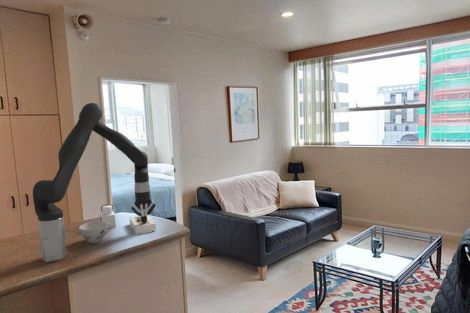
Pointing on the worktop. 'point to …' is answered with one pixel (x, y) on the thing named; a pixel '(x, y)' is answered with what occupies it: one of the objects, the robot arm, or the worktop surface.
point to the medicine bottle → (108, 215)
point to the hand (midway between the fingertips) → (144, 222)
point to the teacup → (94, 231)
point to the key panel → (142, 228)
